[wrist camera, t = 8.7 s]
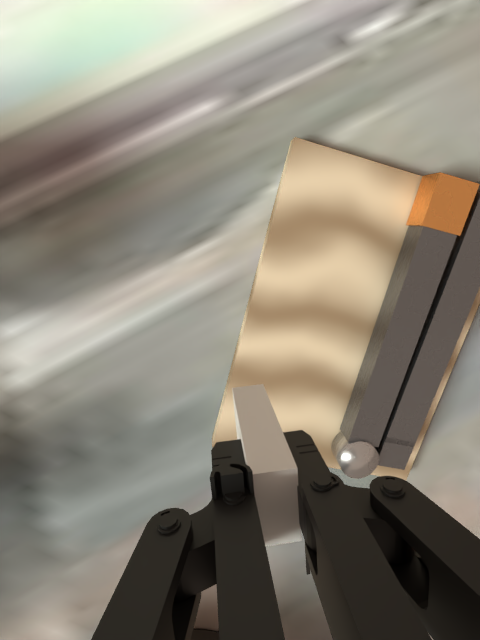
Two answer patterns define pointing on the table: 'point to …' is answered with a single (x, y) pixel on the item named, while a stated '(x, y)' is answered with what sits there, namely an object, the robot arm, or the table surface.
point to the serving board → (323, 292)
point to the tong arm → (402, 317)
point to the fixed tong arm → (434, 344)
